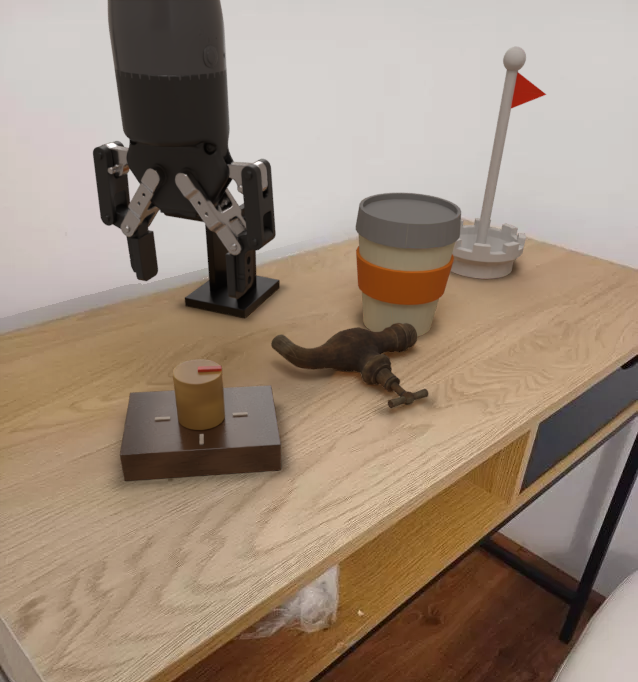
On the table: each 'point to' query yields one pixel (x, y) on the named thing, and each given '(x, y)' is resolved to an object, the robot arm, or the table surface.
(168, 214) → the lever with black grip
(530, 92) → the flag stand
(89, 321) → the table surface
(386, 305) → the reusable coffee cup
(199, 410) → the tap knob
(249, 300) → the black upright frame
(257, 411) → the panel
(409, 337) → the faucet
